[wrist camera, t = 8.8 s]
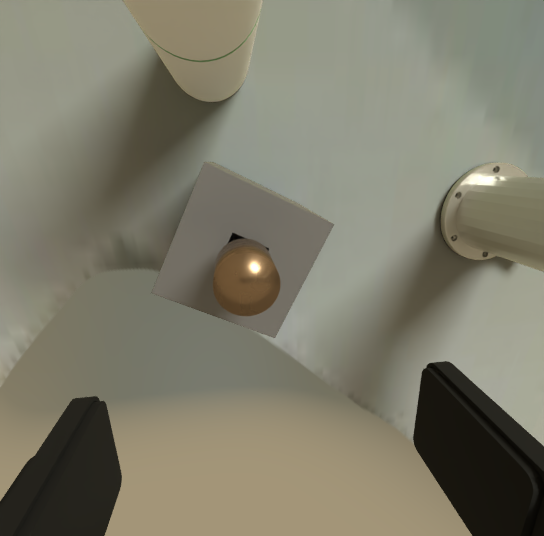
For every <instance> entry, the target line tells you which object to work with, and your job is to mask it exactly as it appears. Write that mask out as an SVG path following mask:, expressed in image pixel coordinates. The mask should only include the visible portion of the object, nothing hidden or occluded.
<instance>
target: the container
mask: <svg viewBox="0 0 544 536" xmlns="http://www.w3.org/2000/svg"><path fill="white" fill-rule="evenodd" d="M123 2H124V3H125V5H126V6H127V8H128V9H129V11H130V12H131V14H132V15H133V17H134V19H135V20H136V22H137V23H138V25H139V26H140V28H141V29H142V31H143V32H144V34H145V35H146V37H147V38H148V40H149V42H150V43H151V45H152V46H153V48H154V49H155V51H156V52H157V54H158V55H159V57H160V58H161V60H162V61H163V63H164V64H165V66H166V68H167V69H168V71H169V72H170V74H171V75H172V77H173V78H174V80H175V81H176V83H177V84H178V85H179V86H180V88H181V89H182V90H183V91H185V92H186V93H187V94H188V95H190V96H192V97H194V98H195V99H198V100H201V101H205V102H217V101H222V100H225V99H227V98H229V97H230V96H232V95H233V94H234V93H235V92H236V91H237V90H239V88H240V87H241V85H242V84H243V82H244V80H245V78H246V76H247V72H248V68H249V63H250V59H251V54H252V49H253V44H254V40H255V35H256V30H257V26H258V21H259V16H260V12H261V7H262V2H263V0H123Z"/></svg>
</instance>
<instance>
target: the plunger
mask: <svg viewBox="0 0 544 536" xmlns="http://www.w3.org/2000/svg"><path fill="white" fill-rule="evenodd" d="M280 286H281V284H280V276H279V273H278V271H277V269H276V266H275V264H274V262H273V260H272V258H271V255H270V253H269V252H268V250H267V249H266V248H265V246H263V245H262V244H261V243H259V242H257V241H255V240H252V239H247V238H244V237H242V236H240V235H237V234H235V233H232V235H231V237H230V239H229V241H228V244H226V245H225V246H224V247H223V248H222V249H221V250H220V252H219V254H218V256H217V258H216V263H215V271H214V278H213V291H214V295H215V298H216V300H217V301H218V303H219V304H220V305H221V306H222V307H223V308H224V309H225V310H227V311H228V312H230V313H232V314H235V315H238V316H253V315H257V314H260V313H262V312H264V311H266V310H267V309H268V308H270V307H271V306H272V305H273V303H274V302H275V301H276V299H277V297H278V295H279V292H280Z"/></svg>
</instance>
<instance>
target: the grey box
mask: <svg viewBox="0 0 544 536" xmlns="http://www.w3.org/2000/svg"><path fill="white" fill-rule="evenodd" d="M333 226H334V224H333V223H331V222H329V221H328V220H326V219H324V218H322V217H321V216H319V215H317V214H316V213H314V212H312V211H310V210H309V209H307V208H305V207H304V206H302V205H300V204H298V203H296V202H294V201H292V200H290V199H288V198H286V197H284V196H282V195H280V194H278V193H276V192H274V191H272V190H270V189H268V188H266V187H263V186H261V185H259V184H257V183H255V182H253V181H251V180H249V179H247V178H245V177H243V176H241V175H239V174H237V173H235V172H233V171H230V170H228V169H226V168H224V167H222V166H220V165H218V164H216V163H214V162H204V164H203V166H202V169H201V171H200V174H199V176H198V179H197V181H196V184H195V186H194V189H193V191H192V193H191V196H190V198H189V201H188V203H187V206H186V208H185V211H184V213H183V216H182V218H181V221H180V223H179V226H178V228H177V231H176V233H175V236H174V238H173V240H172V243H171V245H170V248H169V250H168V253H167V255H166V258H165V260H164V263H163V265H162V268H161V270H160V273H159V275H158V278H157V280H156V283H155V285H154V288H153V290H152V293H153V294H156V295H158V296H161V297H164V298H166V299H169V300H172V301H175V302H177V303H180V304H183V305H186V306H188V307H191V308H194V309H197V310H199V311H202V312H205V313H207V314H210V315H213V316H216V317H218V318H221V319H224V320H227V321H229V322H232V323H235V324H237V325H240V326H243V327H246V328H248V329H251V330H254V331H257V332H259V333H262V334H265V335H268V336H270V337H273V338H275V337H276V335H277V333H278V331H279V329H280V327H281V325H282V324H283V322H284V320H285V318H286V316H287V314H288V312H289V310H290V308H291V306H292V304H293V302H294V300H295V299H296V297H297V295H298V293H299V291H300V289H301V287H302V285H303V283H304V281H305V279H306V277H307V276H308V274H309V272H310V270H311V268H312V266H313V264H314V262H315V260H316V258H317V256H318V254H319V252H320V251H321V249H322V247H323V245H324V243H325V241H326V239H327V237H328V235H329V233H330V231H331V229H332V228H333ZM232 233H235V234H237V235H240V236H242V237H244V238H247V239H252V240H255V241H257V242H259V243H261V244H262V245H263V246H265V248H266V249H267V250H268V252H269V253H270V255H271V258H272V260H273V262H274V264H275V266H276V269H277V271H278V273H279V276H280V284H281V286H280V292H279V295H278V297H277V299H276V301H275V302H274V303H273V305H272V306H271V307H270V308H268V309H267V310H266V311H264V312H262V313H260V314H257V315H253V316H238V315H235V314H232V313H230V312H228V311H227V310H225V309H224V308H223V307H222V306H221V305H220V304H219V303H218V301H217V300H216V298H215V295H214V291H213V278H214V271H215V263H216V258H217V256H218V254H219V252H220V250H221V249H222V248H223V247H224V246H225V245H226V244H228V241H229V239H230V237H231V235H232Z"/></svg>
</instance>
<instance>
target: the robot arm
mask: <svg viewBox="0 0 544 536" xmlns="http://www.w3.org/2000/svg"><path fill="white" fill-rule="evenodd" d="M441 231H442V234H443V237H444V239H445V241H446V243H447V245H448V246H449V247H450V248H451V249H452V250H453V251H454V252H456V253H457V254H459V255H461V256H463V257H466V258H469V259H473V260H485V259H490V258H493V257H496V256H499V257H502V258H505V259H508V260H511V261H514V262H517V263H520V264H523V265H525V266H528V267H531V268H534V269H537V270H540V271H543V272H544V178H537V177H528V176H527V175H526V173H525V172H523V171H522V170H521V169H520V168H518V167H516V166H514V165H512V164H507V163H488V164H484V165H481V166H478V167H476V168H474V169H472V170H470V171H468V172H467V173H466V174H465V175H463V176H462V177H461V178H460V179H459V180H458V181H457V182H456V183H455V184H454V186H453V187H452V189H451V190H450V192H449V193H448V195H447V197H446V199H445V202H444V204H443V208H442V212H441ZM413 440H414V445H415V447H416V450H417V451H418V453H419V454H420V456H421V457H422V459H423V461H424V462H425V464H426V465H427V467H428V468H429V470H430V471H431V473H432V474H433V476H434V477H435V479H436V481H437V482H438V484H439V485H440V487H441V488H442V490H443V491H444V493H445V494H446V496H447V497H448V499H449V500H450V502H451V504H452V505H453V507H454V508H455V509H456V511H457V513H458V514H459V516H460V517H461V519H462V520H463V522H464V523H465V525H466V527H467V528H468V530H469V531H470V533H471V534H472V536H544V446H543V445H542V444H541V443H539V442H538V441H537V440H536V439H535V438H534V437H533V436H532V435H531V434H529V433H528V432H527V431H526V430H525V429H524V428H523V427H522V426H521V425H519V424H518V423H517V422H516V421H515V420H514V419H513V418H512V417H511V416H509V415H508V414H507V413H506V412H505V411H504V410H503V409H502V408H501V407H499V406H498V405H497V404H496V403H495V402H494V401H493V400H492V399H491V398H490V397H488V396H487V395H486V394H485V393H484V392H483V391H482V390H481V389H480V388H478V387H477V386H476V385H475V384H474V383H473V382H472V381H471V380H470V379H468V378H467V377H466V376H465V375H464V374H463V373H462V372H461V371H460V370H458V369H457V368H456V367H455V366H454V365H453V364H452V363H450V362H447V361H445V362H435V363H429V364H428V365H427V367H426V368H425V369H423V371H422V376H421V384H420V391H419V399H418V406H417V414H416V421H415V428H414V436H413ZM121 480H122V475H121V470H120V465H119V461H118V456H117V451H116V447H115V442H114V438H113V434H112V429H111V424H110V420H109V415H108V410H107V406H106V403H105V402H104V401H99V398H98V397H95V396H94V397H85V398H75V399H73V400H72V401H71V402H70V404H69V405H68V406H67V408H66V410H65V411H64V412H63V414H62V416H61V417H60V418H59V420H58V422H57V423H56V425H55V426H54V428H53V429H52V431H51V432H50V434H49V435H48V437H47V438H46V440H45V441H44V443H43V444H42V446H41V447H40V449H39V450H38V452H37V453H36V455H35V456H34V457H32V458H31V459H30V460H29V461H28V462H27V463H26V464H25V466H24V467H23V469H22V470H21V472H20V473H19V475H18V476H17V478H16V479H15V481H14V482H13V484H12V485H11V487H10V488H9V490H8V491H7V493H6V494H5V496H4V497H3V498H2V500H1V501H0V536H104V535H105V532H106V530H107V527H108V524H109V520H110V517H111V515H112V511H113V509H114V506H115V502H116V499H117V496H118V494H119V491H120V487H121Z"/></svg>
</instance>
